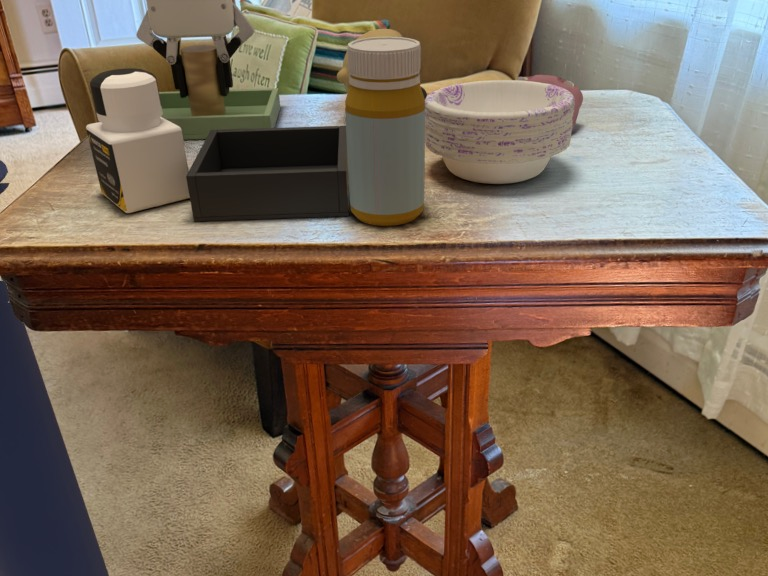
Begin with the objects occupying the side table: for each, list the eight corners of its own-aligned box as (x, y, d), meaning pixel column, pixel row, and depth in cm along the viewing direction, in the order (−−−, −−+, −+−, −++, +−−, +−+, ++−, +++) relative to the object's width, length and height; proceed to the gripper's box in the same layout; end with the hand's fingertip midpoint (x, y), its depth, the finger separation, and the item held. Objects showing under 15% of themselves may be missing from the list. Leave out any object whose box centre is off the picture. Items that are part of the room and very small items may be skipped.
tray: (128, 141, 93) (124, 119, 91) (152, 111, 104) (148, 92, 103) (272, 136, 93) (269, 115, 92) (280, 107, 104) (278, 88, 103)
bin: (193, 221, 71) (185, 175, 69) (216, 170, 83) (210, 129, 81) (348, 216, 71) (346, 170, 69) (348, 165, 84) (346, 125, 81)
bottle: (418, 230, 68) (419, 52, 60) (343, 225, 70) (333, 51, 61) (428, 201, 74) (430, 36, 66) (359, 198, 75) (352, 35, 67)
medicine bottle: (101, 194, 78) (71, 71, 71) (166, 179, 81) (143, 60, 74) (126, 215, 73) (96, 85, 66) (194, 198, 76) (173, 72, 69)
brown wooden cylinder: (188, 120, 96) (177, 53, 92) (194, 110, 100) (183, 45, 95) (223, 118, 96) (213, 51, 92) (227, 109, 100) (218, 44, 95)
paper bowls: (424, 149, 88) (425, 77, 83) (557, 148, 87) (564, 75, 82) (422, 196, 75) (422, 115, 71) (576, 196, 74) (587, 113, 70)
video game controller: (577, 141, 94) (590, 83, 93) (569, 133, 90) (583, 72, 89) (502, 132, 98) (513, 76, 97) (491, 124, 94) (503, 65, 92)
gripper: (257, -77, 89) (273, 85, 100) (114, -72, 89) (145, 89, 100) (250, -72, 83) (268, 99, 94) (96, -67, 83) (132, 104, 93)
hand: (205, 92), depth 96 cm, fingers closed on brown wooden cylinder, 4 cm apart
